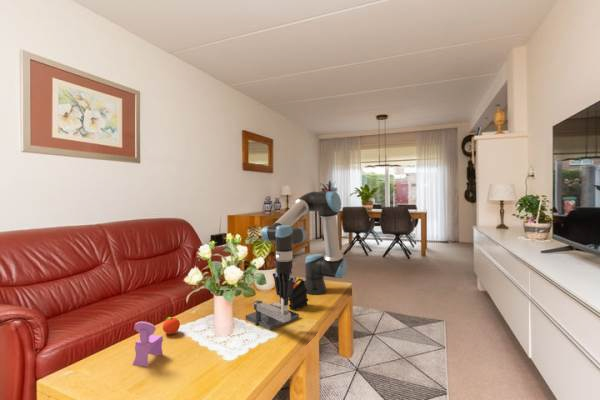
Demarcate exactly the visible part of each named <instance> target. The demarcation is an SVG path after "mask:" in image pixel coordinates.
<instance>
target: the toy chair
mask: <svg viewBox="0 0 600 400" xmlns="http://www.w3.org/2000/svg"><path fill="white" fill-rule="evenodd" d="M156 329H157V328H156V326H155V325H154V324H153V323H150V322H147V321H138V322H136V323H135V324H134V330H135V331H136V332H137V333H139V339H138V340H136V341H135V344H134V351H135V358H134V360H133V362H132V366H140V367H147V368H148V367H149V360H148V359H149V357H148V356H149V354H150V355H155V356H156V355H157V356H164V355H163V348H162V345H163V340H164V338H163V335H158V334H154V333H155V331H156Z"/></svg>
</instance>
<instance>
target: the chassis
mask: <svg viewBox="0 0 600 400" xmlns="http://www.w3.org/2000/svg"><path fill="white" fill-rule="evenodd" d="M269 304H270V305H272V306H275V307H277V308H280V309H281V304H280V301H275V302H271V303H269ZM287 312H289V313H291V320H290V321H287V322H284V323H283V322H281V321H279V320H276V319H274V318H272V317H270V316H268V315H265V314H263V313H261V312H259V311H257V310H255V311H254V312H251V313H248V314H245V320H246V321H248V322H250V323H253V324H255V326H260V327H261V328H264V329H266V330H268V331H272V330H275V329H277V328H279V327H281V326H284V325H286V324H289V323H291V322H292V321H296V320H297V319H299V318H300V314H299V313H298V312H295V311H293V310H290V309H287Z"/></svg>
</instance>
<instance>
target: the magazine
mask: <svg viewBox="0 0 600 400" xmlns="http://www.w3.org/2000/svg"><path fill="white" fill-rule="evenodd" d="M304 283H305V280H304V279H302V278H298V279H296V280H295V282H294V287H293V293H292V297H290V298H288V301H289V304H288V307H289V310H290V311H297V310H299V309H302V308H304V307H307V306H308V302H309V299H308V294H307V293H306V291H307V289H306V288H305V284H304Z"/></svg>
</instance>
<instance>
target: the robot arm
mask: <svg viewBox="0 0 600 400" xmlns="http://www.w3.org/2000/svg"><path fill="white" fill-rule="evenodd" d="M341 209H342V201H341V197H340V194H338V193H337V192H336V191H329V190H328V191H311V192H307V193H305V194H303V195H302V196H300V197H298V198H297V199H296V200H295V201H294V203H293V205H292V206H291V207H290V208H289V209H288V210H287V211H285V213H283V215H282V216H280V217H279V218H278V219H277V220H276V221H275V222H274V223H273V224H272V225H266V226H263V227H262V229H261V232H260V234H261V235H260V236H261V239H262V240H263V241H265V242H269V243H275V269H276V271H275V272H274V273H272V277H273V280H274V285H275V286H274V287H275V292H276V296H279V302H280V304H281V309H282V310H285V311H287V310H288V306H289V300H288V299H289V298H290V297H292V293H293V287H294V283H295V282H296V281H297V276H293V272H292V270H293V245H297V244H301V243H302V242H304V241H305V240H306V238H307V232H306V230H305V229H304V228H303V227H298V226H297V227H293V226H294V224H296V222H298V221H299V219H300V218H301V217H303V215H307V213H308V212H309V213H310V212H317V213H318V217H320V218H321V223H322V231H323V232H322V233H323V241H324V250H325V255H324V254H323V253H313V254H309V255H307V256H306V257H305V262H304V264H305V265H304V267H305V278H304V281H305V283H304V284H305V288H306V289H307V291H306V293H307V295H323V294H325V293H326V292H327V286H326V282H325V278H324V277H328V278H335V279H343V278H344V277H345V275H346V273H347V269H348V260H347V259H345V258H344V255H343V254H342V252H341V249H340V241H339V231H338V223H337V222H338V221H337V220H338V219H337V216H338V215H339V213H340V211H341Z"/></svg>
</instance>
